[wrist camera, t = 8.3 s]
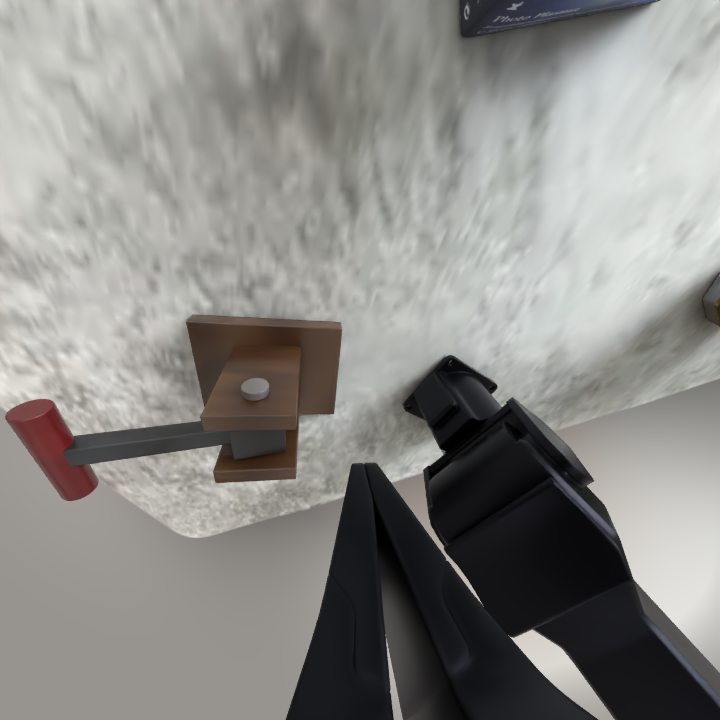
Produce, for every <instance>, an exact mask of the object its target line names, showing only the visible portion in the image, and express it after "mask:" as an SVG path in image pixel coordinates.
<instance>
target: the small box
mask: <svg viewBox="0 0 720 720" xmlns="http://www.w3.org/2000/svg"><path fill="white" fill-rule="evenodd" d="M658 1H660V0H460V15H461V36H462V37H474V36H478V35H484V34H489V33H494V32H500V31H505V30H509V29H515V28H520V27H526V26H531V25H537V24H542V23H547V22H553V21H558V20H563V19H568V18H575V17H580V16H585V15H589V14H595V13H600V12H606V11H611V10H616V9H622V8H628V7H632V6H637V5H642V4H648V3H653V2H658Z"/></svg>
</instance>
